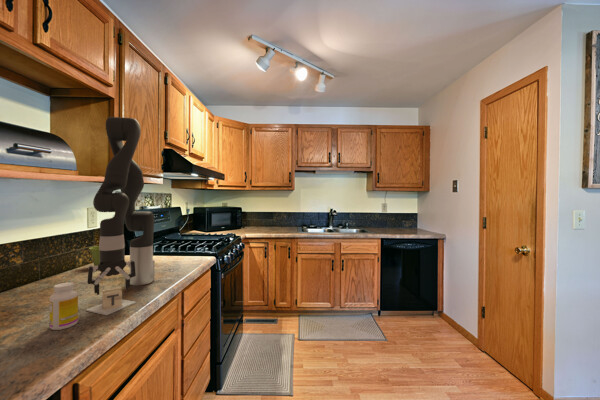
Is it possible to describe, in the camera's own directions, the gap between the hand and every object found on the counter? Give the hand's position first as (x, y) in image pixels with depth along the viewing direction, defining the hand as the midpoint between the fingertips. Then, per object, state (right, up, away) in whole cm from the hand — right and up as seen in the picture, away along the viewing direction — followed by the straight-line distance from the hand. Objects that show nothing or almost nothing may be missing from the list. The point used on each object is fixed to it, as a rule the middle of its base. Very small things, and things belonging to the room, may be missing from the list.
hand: (112, 291), depth 98 cm
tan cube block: (0, -5, 0) cm, 5 cm away
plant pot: (-44, -5, +54) cm, 70 cm away
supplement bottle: (-5, -6, -14) cm, 16 cm away
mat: (0, -6, 0) cm, 6 cm away
